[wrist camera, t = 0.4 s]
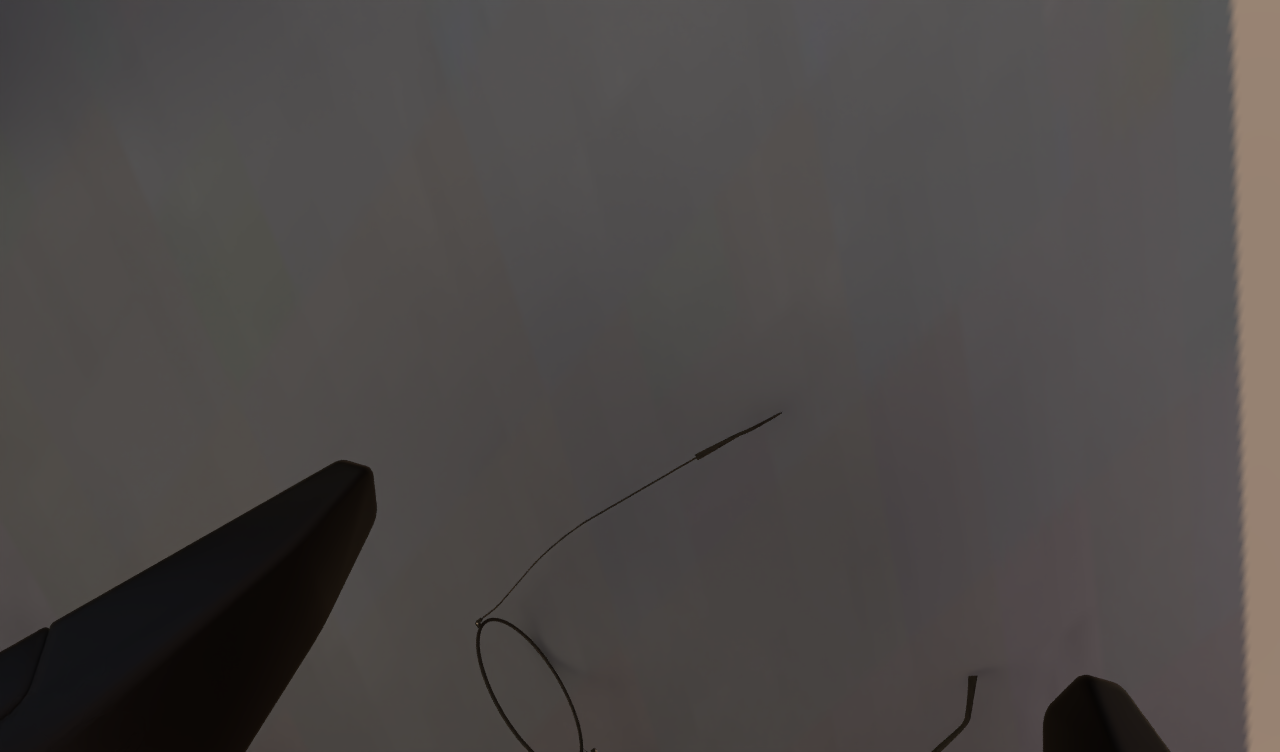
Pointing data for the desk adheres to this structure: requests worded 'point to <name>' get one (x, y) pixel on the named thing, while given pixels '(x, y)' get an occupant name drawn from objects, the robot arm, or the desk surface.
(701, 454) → the eyeglasses
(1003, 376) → the desk surface
